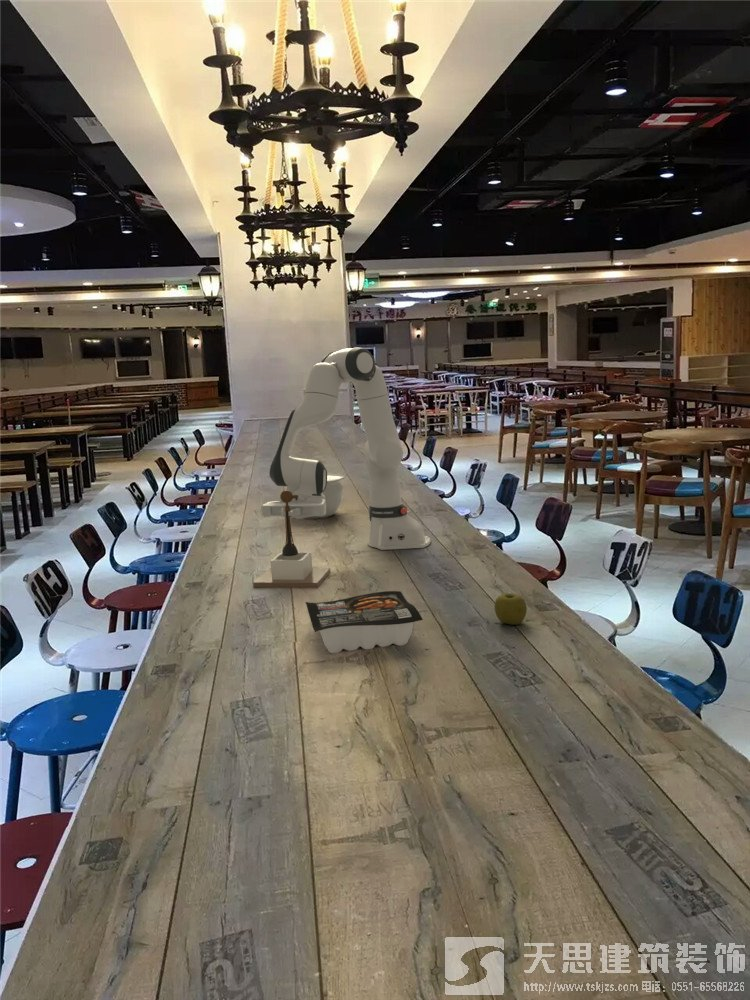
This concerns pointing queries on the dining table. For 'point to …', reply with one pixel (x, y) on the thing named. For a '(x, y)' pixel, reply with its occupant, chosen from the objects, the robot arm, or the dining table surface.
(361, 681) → the dining table surface
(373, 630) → the food packaging
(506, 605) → the apple
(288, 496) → the wooden tabletop sculpture
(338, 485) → the chamber pot
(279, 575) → the utensil holder
